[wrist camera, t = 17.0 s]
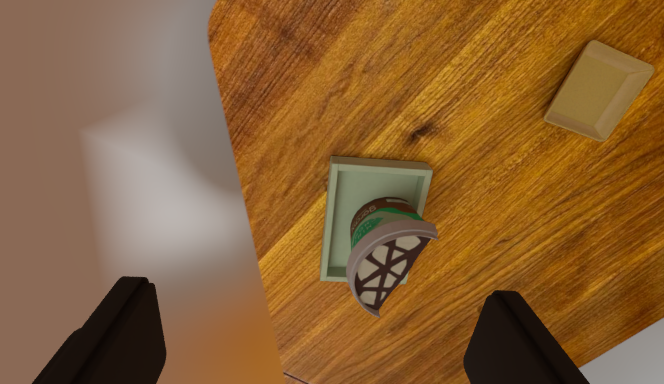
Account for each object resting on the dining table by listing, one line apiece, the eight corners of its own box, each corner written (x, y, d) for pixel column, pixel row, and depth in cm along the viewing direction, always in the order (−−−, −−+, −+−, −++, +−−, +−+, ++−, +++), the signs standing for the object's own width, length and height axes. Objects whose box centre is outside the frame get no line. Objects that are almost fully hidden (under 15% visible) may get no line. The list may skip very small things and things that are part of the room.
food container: (370, 170, 40) (387, 211, 31) (413, 190, 41) (441, 235, 32) (324, 248, 44) (327, 303, 35) (364, 263, 46) (377, 321, 37)
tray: (319, 268, 47) (320, 281, 44) (330, 155, 39) (331, 163, 37) (401, 271, 48) (405, 284, 45) (426, 162, 40) (433, 170, 38)
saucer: (641, 65, 37) (658, 67, 35) (591, 138, 40) (604, 143, 38) (577, 37, 35) (592, 38, 33) (530, 115, 39) (542, 120, 37)
